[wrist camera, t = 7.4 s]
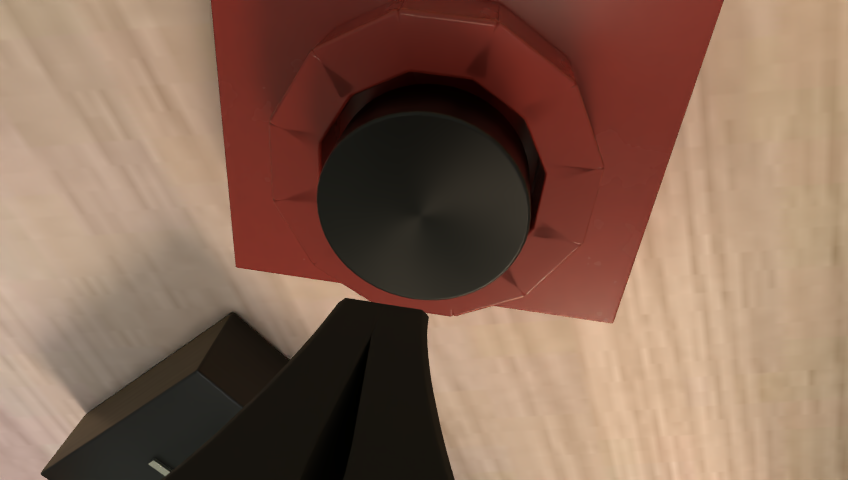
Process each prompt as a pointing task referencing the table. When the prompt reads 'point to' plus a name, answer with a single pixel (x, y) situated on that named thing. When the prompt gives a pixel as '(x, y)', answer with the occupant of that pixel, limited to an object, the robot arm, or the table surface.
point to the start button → (426, 193)
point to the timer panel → (169, 408)
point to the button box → (486, 78)
